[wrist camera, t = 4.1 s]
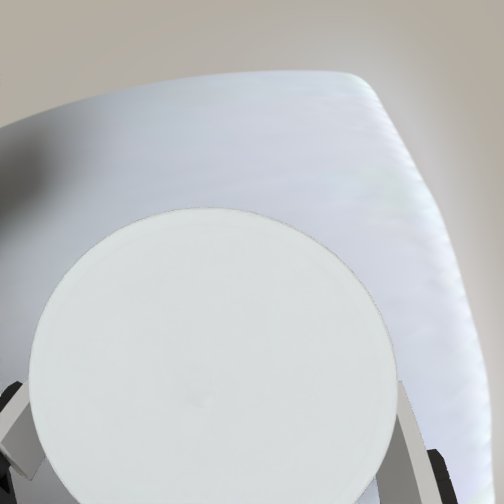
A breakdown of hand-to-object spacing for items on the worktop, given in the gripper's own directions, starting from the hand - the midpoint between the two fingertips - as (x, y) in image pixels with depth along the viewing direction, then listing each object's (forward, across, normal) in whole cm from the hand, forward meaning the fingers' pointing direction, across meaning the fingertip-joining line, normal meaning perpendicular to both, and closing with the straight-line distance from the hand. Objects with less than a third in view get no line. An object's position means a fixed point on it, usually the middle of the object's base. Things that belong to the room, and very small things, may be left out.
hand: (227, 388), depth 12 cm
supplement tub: (+6, 0, -6) cm, 8 cm away
